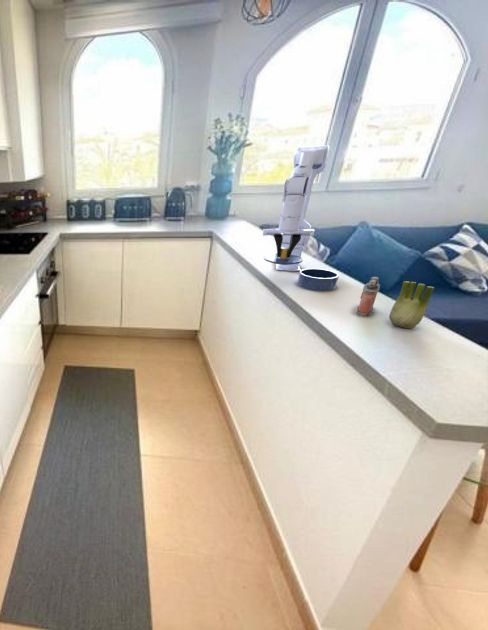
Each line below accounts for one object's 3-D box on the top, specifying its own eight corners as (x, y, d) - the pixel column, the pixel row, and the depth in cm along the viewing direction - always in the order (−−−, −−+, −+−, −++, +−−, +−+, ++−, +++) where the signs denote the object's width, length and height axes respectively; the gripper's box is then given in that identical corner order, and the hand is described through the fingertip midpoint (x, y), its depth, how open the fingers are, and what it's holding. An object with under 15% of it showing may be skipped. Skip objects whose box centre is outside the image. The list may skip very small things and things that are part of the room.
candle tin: (295, 279, 125) (298, 267, 123) (332, 281, 121) (335, 269, 119) (299, 289, 116) (302, 277, 115) (338, 292, 112) (341, 279, 110)
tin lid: (262, 256, 126) (264, 243, 124) (300, 257, 121) (302, 244, 120) (264, 265, 117) (266, 251, 115) (304, 267, 112) (307, 253, 110)
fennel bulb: (421, 330, 87) (439, 286, 82) (401, 331, 87) (417, 287, 82) (401, 320, 92) (417, 278, 87) (382, 321, 92) (397, 279, 87)
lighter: (359, 305, 102) (369, 273, 98) (374, 308, 100) (384, 275, 96) (354, 314, 97) (364, 281, 93) (369, 317, 95) (380, 283, 91)
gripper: (266, 218, 113) (259, 258, 118) (319, 218, 107) (309, 260, 112) (265, 214, 118) (259, 253, 124) (315, 214, 112) (306, 254, 118)
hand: (283, 256), depth 118 cm, fingers closed on tin lid, 2 cm apart
